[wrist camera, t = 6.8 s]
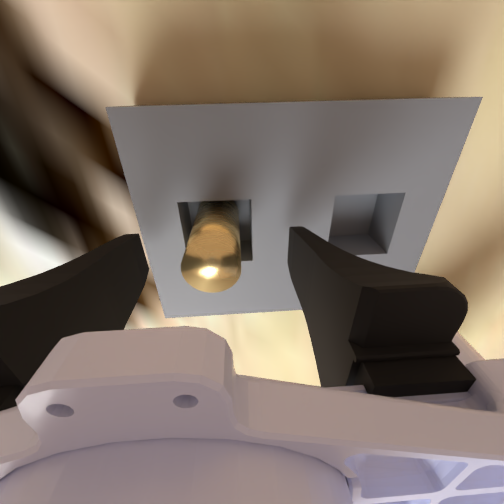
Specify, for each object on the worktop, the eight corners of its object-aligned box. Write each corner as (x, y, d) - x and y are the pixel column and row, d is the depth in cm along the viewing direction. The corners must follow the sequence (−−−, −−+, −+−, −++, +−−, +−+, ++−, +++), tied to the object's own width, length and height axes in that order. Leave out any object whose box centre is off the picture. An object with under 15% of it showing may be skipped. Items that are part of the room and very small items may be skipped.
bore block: (380, 277, 20) (402, 303, 17) (174, 288, 19) (165, 318, 16) (434, 97, 13) (482, 96, 11) (131, 105, 13) (105, 107, 10)
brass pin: (238, 231, 16) (240, 292, 11) (199, 231, 16) (183, 292, 11) (239, 194, 15) (242, 243, 10) (197, 193, 15) (177, 242, 10)
